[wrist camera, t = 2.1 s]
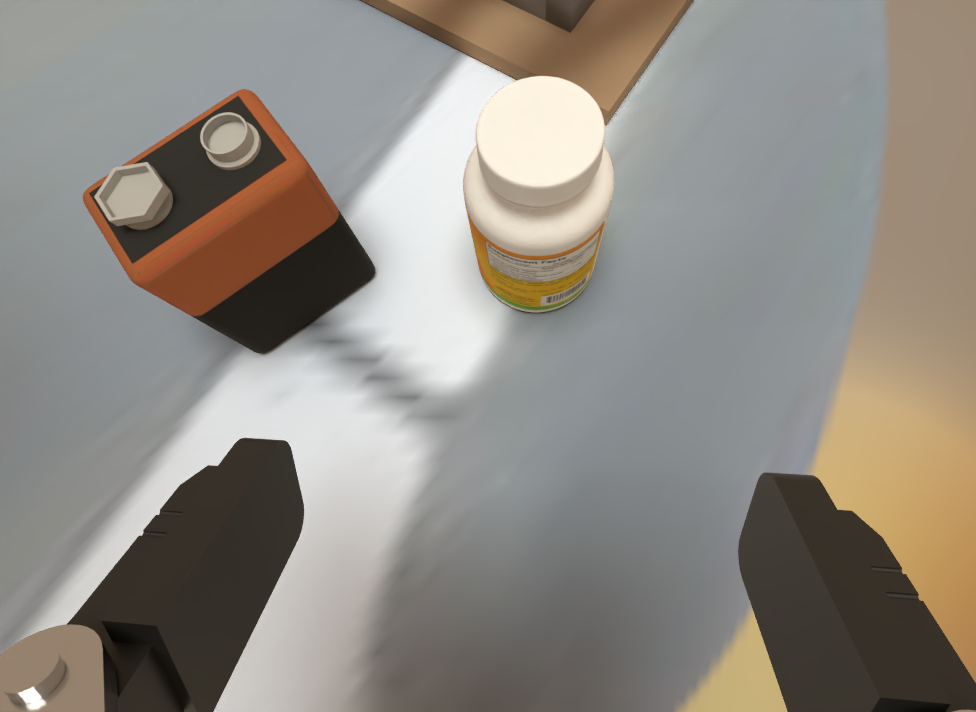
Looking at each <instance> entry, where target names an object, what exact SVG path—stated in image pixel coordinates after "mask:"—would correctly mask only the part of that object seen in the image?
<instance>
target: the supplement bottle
mask: <svg viewBox="0 0 976 712" xmlns="http://www.w3.org/2000/svg"><path fill="white" fill-rule="evenodd" d="M604 139H605V124H604V119H603V116H602V112H601V110H600V108H599V106H598V104H597V103H596V101H595V100H594V99H593V98H592V97H591V95H590V94H589V93H587V92H586V91H585V90H584V89H582V88H581V87H580V86H578V85H576V84H574V83H572V82H570V81H567V80H565V79H562V78H557V77H551V76H534V77H528V78H524V79H520V80H517V81H515V82H513V83H511V84H508V85H507V86H505V87H503V88H502V89H500V90H499V91H498V92H496V93H495V94H494V95H493V96H492V97H491V99H490V100H489V101H488V102H487V103H486V105H485V106H484V108H483V110H482V112H481V113H480V116H479V119H478V122H477V127H476V146H475V148H474V149H473V151H472V153H471V155H470V157H469V159H468V161H467V164H466V168H465V172H464V179H463V191H464V199H465V205H466V210H467V214H468V219H469V223H470V228H471V233H472V237H473V242H474V247H475V252H476V256H477V260H478V265H479V269H480V272H481V275H482V278H483V280H484V282H485V284H486V286H487V287H488V289H489V290H490V291H491V292H492V294H493V295H494V296H495V297H497V298H498V299H499V300H500V301H502V302H503V303H505V304H507V305H508V306H510V307H512V308H515V309H518V310H521V311H525V312H546V311H551V310H554V309H558V308H560V307H562V306H564V305H566V304H568V303H570V302H571V301H573V300H574V299H575V298H576V297H577V296H578V295H579V294H580V293H581V292H582V291H583V290H584V289H585V287H586V286H587V284H588V282H589V280H590V278H591V276H592V273H593V270H594V267H595V263H596V260H597V256H598V252H599V248H600V244H601V240H602V236H603V233H604V229H605V225H606V221H607V217H608V214H609V210H610V206H611V202H612V197H613V192H614V171H613V166H612V162H611V159H610V156H609V154H608V152H607V150H606V148H605V147H604Z"/></svg>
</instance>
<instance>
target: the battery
mask: <svg viewBox="0 0 976 712" xmlns="http://www.w3.org/2000/svg"><path fill="white" fill-rule="evenodd" d="M83 201H84V204H85V206H86V207H87V209H88V211H89V212H90V214H91V216H92V217H93V219H94V221H95V222H96V224H97V225H98V227H99V229H100V230H101V232H102V234H103V235H104V237H105V239H106V240H107V242H108V244H109V245H110V247H111V248H112V250H113V252H114V253H115V255H116V257H117V258H118V260H119V262H120V263H121V265H122V267H123V268H124V270H125V271H126V273H127V275H128V276H129V278H130V279H131V281H132V282H133V283H135V284H136V285H138V286H139V287H141V288H143V289H145V290H146V291H148V292H150V293H152V294H153V295H155V296H157V297H159V298H161V299H162V300H164V301H166V302H168V303H169V304H171V305H173V306H175V307H176V308H178V309H180V310H182V311H184V312H185V313H187V314H189V315H191V316H192V317H194V318H196V319H198V320H199V321H201V322H203V323H205V324H206V325H208V326H210V327H212V328H214V329H215V330H217V331H219V332H221V333H222V334H224V335H226V336H228V337H229V338H231V339H233V340H235V341H237V342H238V343H240V344H242V345H244V346H245V347H247V348H249V349H251V350H253V351H255V352H257V353H265V352H267V351H269V350H270V349H272V348H273V347H275V346H276V345H278V344H279V343H280V342H282V341H283V340H285V339H286V338H287V337H289V336H290V335H292V334H293V333H295V332H296V331H297V330H299V329H300V328H302V327H303V326H304V325H306V324H307V323H309V322H310V321H311V320H313V319H314V318H316V317H317V316H318V315H320V314H321V313H323V312H324V311H326V310H327V309H328V308H330V307H331V306H333V305H334V304H335V303H337V302H338V301H340V300H341V299H342V298H344V297H345V296H347V295H348V294H349V293H351V292H352V291H354V290H355V289H357V288H358V287H359V286H361V285H362V284H363V283H365V282H366V281H368V280H369V279H370V278H371V277H372V276H373V275H374V273H375V267H374V265H373V263H372V261H371V260H370V258H369V257H368V255H367V253H366V252H365V250H364V249H363V247H362V246H361V244H360V243H359V241H358V239H357V238H356V236H355V235H354V233H353V232H352V230H351V229H350V227H349V225H348V224H347V222H346V221H345V219H344V218H343V216H342V215H341V213H340V211H339V210H338V208H337V207H336V205H335V204H334V202H333V200H332V199H331V197H330V196H329V194H328V193H327V191H326V190H325V188H324V186H323V185H322V183H321V182H320V180H319V179H318V177H317V176H316V174H315V172H314V171H313V169H312V168H311V166H310V165H309V163H308V162H307V161H306V159H305V158H304V156H303V155H302V154H301V153H300V151H299V150H298V149H297V147H296V146H295V145H294V143H293V142H292V141H291V140H290V138H289V137H288V136H287V134H286V133H285V132H284V130H283V129H282V128H281V127H280V125H279V124H278V123H277V121H276V120H275V119H274V117H273V116H272V115H271V114H270V112H269V111H268V110H267V108H266V107H265V106H264V104H263V103H262V102H261V100H260V99H259V98H258V97H257V96H256V95H255V94H254V93H253V92H252V91H250V90H246V89H243V90H239V91H237V92H235V93H233V94H232V95H230V96H229V97H227V98H225V99H224V100H222V101H221V102H219V103H218V104H216V105H215V106H213V107H212V108H210V109H208V110H207V111H205V112H204V113H202V114H201V115H199V116H198V117H196V118H195V119H193V120H192V121H190V122H189V123H187V124H185V125H184V126H182V127H181V128H179V129H178V130H176V131H175V132H173V133H172V134H170V135H169V136H167V137H165V138H164V139H162V140H161V141H159V142H158V143H156V144H155V145H153V146H152V147H150V148H149V149H147V150H145V151H144V152H142V153H141V154H139V155H138V156H136V157H135V158H133V159H132V160H130V161H129V162H127V163H126V164H124V165H122V166H121V167H115V168H113V169H112V171H111V172H110V174H109V175H107V176H106V177H104V178H102V179H101V180H99V181H98V182H96V183H95V184H93V185H92V186H91V187H89V188H88V189H87V190H86V191H85V192H84V194H83Z"/></svg>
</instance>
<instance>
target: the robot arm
mask: <svg viewBox="0 0 976 712" xmlns="http://www.w3.org/2000/svg"><path fill="white" fill-rule="evenodd" d="M303 519H304V505H303V499H302V495H301V491H300V486H299V482H298V477H297V473H296V468H295V464H294V459H293V455H292V451H291V447H290V445H289V444H288V442H286V441H284V440H268V439H253V438H242V439H240V440H238V441H237V442H236V443H235V444H234V446H233V447H232V448H231V450H230V451H229V452H228V454H227V455H226V456H225V457H224V459H223V460H222V461H221V463H220V464H219V465H218V466H209V465H208V466H207V467H205V468H204V469H202V470H201V471H200V472H198V473H197V474H195V475H194V476H192V477H191V478H190V479H188V480H187V481H185V482H184V483H183V484H181V485H180V486H179V487H178V488H177V490H176V491H175V492H174V493H173V495H172V496H171V497H170V498H169V499H168V501H167V502H166V503H165V504H164V506H163V507H162V508H161V509H160V514H159V515H156V516H155V517H154V518H153V519H152V520H151V522H150V523H149V524H148V525H147V527H146V528H145V529H144V530H143V531H144V533H143V535H142V536H139V537H138V538H137V539H136V540H135V542H134V543H133V544H132V545H131V546H130V548H129V549H128V550H127V551H126V553H125V554H124V555H123V556H122V558H121V559H120V560H119V561H118V563H117V564H116V565H115V566H114V567H113V569H112V570H111V571H110V572H109V574H108V575H107V576H106V577H105V579H104V580H103V581H102V582H101V584H100V585H99V586H98V587H97V588H96V590H95V591H94V592H93V593H92V595H91V596H90V597H89V598H88V600H87V601H86V602H85V603H84V605H83V606H82V607H81V608H80V610H79V611H78V612H77V613H76V614H75V616H74V617H73V618H72V619H71V620H70V621H69V622H68V623H67V625H61V626H56V627H52V628H49V629H46V630H43V631H40V632H37V633H35V634H33V635H31V636H29V637H27V638H25V639H23V640H21V641H20V642H18V643H16V644H15V645H13V646H12V647H10V648H9V649H7V650H6V651H5V652H3V653H2V654H1V655H0V712H213V711H214V709H215V707H216V705H217V703H218V701H219V699H220V697H221V695H222V693H223V691H224V689H225V687H226V685H227V683H228V681H229V679H230V677H231V674H232V672H233V670H234V668H235V666H236V664H237V662H238V660H239V658H240V656H241V654H242V652H243V650H244V648H245V646H246V644H247V642H248V640H249V638H250V636H251V634H252V632H253V630H254V628H255V626H256V624H257V622H258V620H259V618H260V616H261V614H262V612H263V610H264V608H265V606H266V604H267V602H268V600H269V598H270V596H271V594H272V592H273V590H274V588H275V585H276V583H277V581H278V579H279V577H280V575H281V573H282V571H283V569H284V567H285V565H286V563H287V561H288V559H289V557H290V555H291V553H292V551H293V549H294V547H295V545H296V543H297V541H298V539H299V536H300V533H301V530H302V525H303ZM738 555H739V566H740V571H741V575H742V579H743V582H744V585H745V588H746V590H747V593H748V596H749V599H750V602H751V605H752V608H753V611H754V614H755V617H756V620H757V623H758V626H759V629H760V631H761V634H762V637H763V640H764V643H765V646H766V649H767V652H768V655H769V658H770V661H771V664H772V667H773V670H774V672H775V675H776V678H777V681H778V684H779V687H780V690H781V693H782V696H783V699H784V702H785V705H786V708H787V711H788V712H976V683H975V681H974V680H973V678H972V677H971V675H970V674H969V672H968V670H967V669H966V667H965V666H964V664H963V663H962V661H961V660H960V658H959V656H958V655H957V653H956V652H955V650H954V649H953V647H952V645H951V644H950V642H949V641H948V639H947V638H946V636H945V635H944V633H943V631H942V630H941V628H940V627H939V625H938V624H937V622H936V621H935V619H934V617H933V616H932V614H931V613H930V611H929V610H928V608H927V606H926V605H925V603H924V602H923V601H920V600H919V598H918V595H919V594H918V592H917V591H916V589H915V588H914V586H913V585H912V583H911V581H910V580H909V578H908V577H907V575H906V574H902V567H901V566H900V564H899V563H898V561H897V560H896V558H895V557H894V555H893V554H892V552H891V550H890V549H889V547H888V546H887V544H886V543H885V541H884V539H883V538H882V537H881V536H880V535H879V534H878V533H877V532H875V531H874V530H873V529H872V528H871V527H870V526H869V525H867V524H866V523H865V522H864V521H863V520H861V518H859V517H858V516H857V515H856V514H855V513H854V512H852V511H845V510H837V508H836V507H835V505H834V503H833V502H832V500H831V498H830V496H829V495H828V493H827V491H826V489H825V488H824V486H823V485H822V483H821V481H820V480H819V479H818V478H817V477H815V476H812V475H797V474H781V473H763V474H762V475H761V476H760V478H759V479H758V482H757V485H756V488H755V491H754V494H753V497H752V501H751V504H750V507H749V510H748V513H747V517H746V520H745V523H744V526H743V529H742V532H741V536H740V540H739V550H738Z"/></svg>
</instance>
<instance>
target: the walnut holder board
mask: <svg viewBox="0 0 976 712" xmlns="http://www.w3.org/2000/svg"><path fill="white" fill-rule="evenodd" d="M361 1H363V2H365V3H367V4H369V5H371V6H373V7H375V8H377V9H379V10H381V11H383V12H385V13H387V14H389V15H391V16H393V17H395V18H397V19H399V20H401V21H402V22H404V23H406V24H408V25H410V26H412V27H414V28H416V29H418V30H420V31H422V32H424V33H426V34H428V35H430V36H432V37H434V38H436V39H438V40H440V41H442V42H444V43H446V44H448V45H450V46H452V47H454V48H456V49H458V50H460V51H462V52H463V53H465V54H467V55H469V56H471V57H473V58H475V59H477V60H479V61H481V62H483V63H485V64H487V65H489V66H491V67H493V68H495V69H497V70H499V71H501V72H503V73H505V74H507V75H509V76H511V77H513V78H515V79H517V80H520V79H524V78H528V77H534V76H551V77H557V78H562V79H565V80H567V81H570V82H572V83H574V84H576V85H578V86H580V87H581V88H582V89H584V90H585V91H586V92H587V93H589V94H590V95H591V97H592V98H593V99H594V100H595V101H596V103H597V104H598V106H599V108H600V110H601V112H602V116H603V119H604V124H605V125H607V123H608V122H609V120H610V119H611V117H612V116H613V115H614V113H615V112H616V110H617V109H618V107H619V106H620V105H621V103H622V102H623V100H624V99H625V97H626V96H627V95H628V93H629V92H630V90H631V89H632V87H633V86H634V85H635V83H636V82H637V80H638V79H639V77H640V76H641V75H642V73H643V72H644V70H645V69H646V67H647V66H648V65H649V63H650V62H651V60H652V59H653V57H654V56H655V55H656V53H657V52H658V50H659V49H660V47H661V46H662V45H663V43H664V42H665V40H666V39H667V37H668V36H669V35H670V33H671V32H672V30H673V29H674V27H675V26H676V25H677V23H678V22H679V20H680V19H681V17H682V16H683V15H684V13H685V12H686V10H687V9H688V7H689V6H690V5H691V3H692V2H693V0H361Z"/></svg>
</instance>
